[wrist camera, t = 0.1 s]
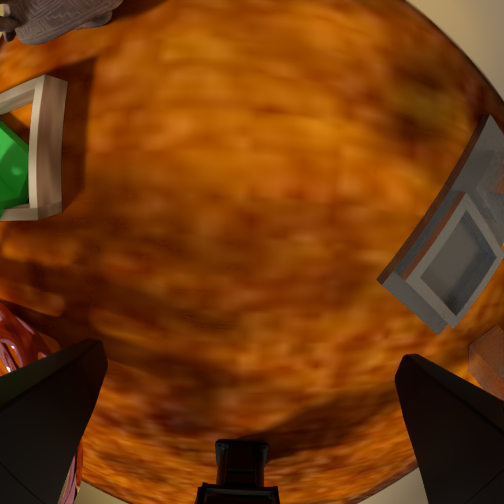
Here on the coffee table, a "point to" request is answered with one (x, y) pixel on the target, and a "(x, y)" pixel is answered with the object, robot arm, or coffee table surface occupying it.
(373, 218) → the coffee table surface
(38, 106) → the parts corral
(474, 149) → the housing
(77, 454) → the spiral basket
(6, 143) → the mechanical part
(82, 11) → the clay figurine
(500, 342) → the post
